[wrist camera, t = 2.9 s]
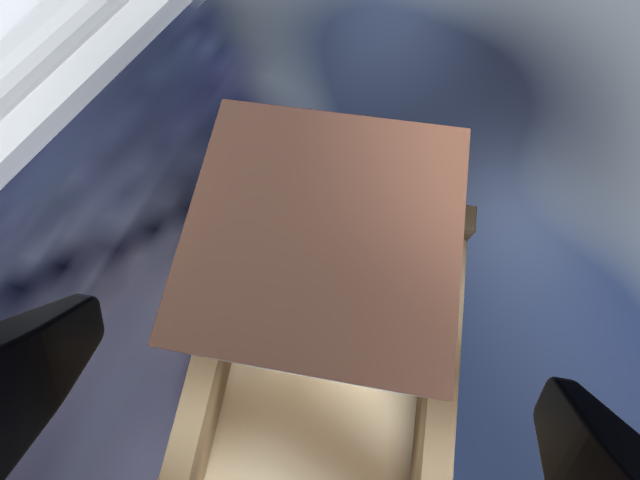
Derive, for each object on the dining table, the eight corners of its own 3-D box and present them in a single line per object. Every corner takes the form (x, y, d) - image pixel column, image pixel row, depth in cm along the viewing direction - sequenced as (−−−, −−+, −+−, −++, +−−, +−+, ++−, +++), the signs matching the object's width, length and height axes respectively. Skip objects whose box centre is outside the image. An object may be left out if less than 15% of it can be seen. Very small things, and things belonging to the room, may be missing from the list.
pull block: (378, 390, 16) (453, 402, 6) (267, 369, 16) (147, 346, 6) (392, 279, 17) (470, 128, 7) (289, 263, 18) (222, 98, 8)
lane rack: (417, 820, 12) (446, 979, 9) (109, 734, 13) (34, 848, 10) (457, 238, 18) (483, 207, 15) (244, 207, 19) (225, 171, 16)
